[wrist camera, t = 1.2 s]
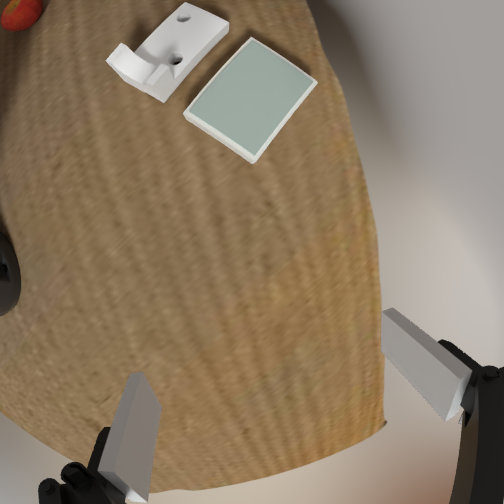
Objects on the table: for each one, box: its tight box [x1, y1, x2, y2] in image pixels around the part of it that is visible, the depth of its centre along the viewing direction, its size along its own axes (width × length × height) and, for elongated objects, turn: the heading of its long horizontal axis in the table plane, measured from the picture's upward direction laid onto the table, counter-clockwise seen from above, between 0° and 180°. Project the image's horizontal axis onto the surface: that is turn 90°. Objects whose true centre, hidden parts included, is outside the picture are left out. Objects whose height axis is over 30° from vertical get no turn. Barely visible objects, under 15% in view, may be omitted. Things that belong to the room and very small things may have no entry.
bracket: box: [106, 2, 229, 103], centre depth 25 cm, size 13×7×8 cm, turn 144°
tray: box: [183, 37, 318, 164], centre depth 29 cm, size 10×13×3 cm
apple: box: [1, 0, 43, 31], centre depth 18 cm, size 8×8×8 cm
